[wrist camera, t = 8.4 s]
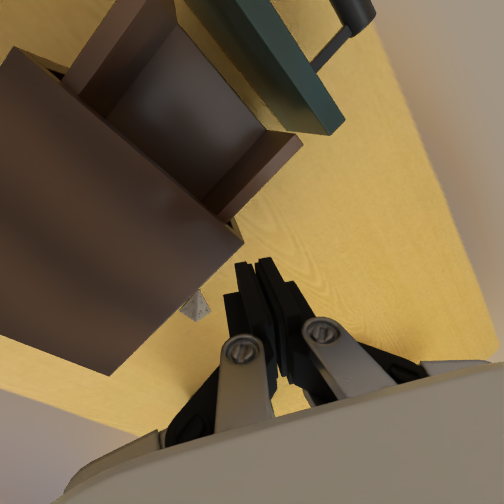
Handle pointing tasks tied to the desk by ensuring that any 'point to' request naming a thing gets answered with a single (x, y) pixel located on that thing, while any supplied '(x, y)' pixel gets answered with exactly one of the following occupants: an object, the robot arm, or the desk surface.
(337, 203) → the desk surface
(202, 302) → the tetrahedral die
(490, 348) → the desk surface
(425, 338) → the desk surface
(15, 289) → the cabinet
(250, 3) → the drawer
